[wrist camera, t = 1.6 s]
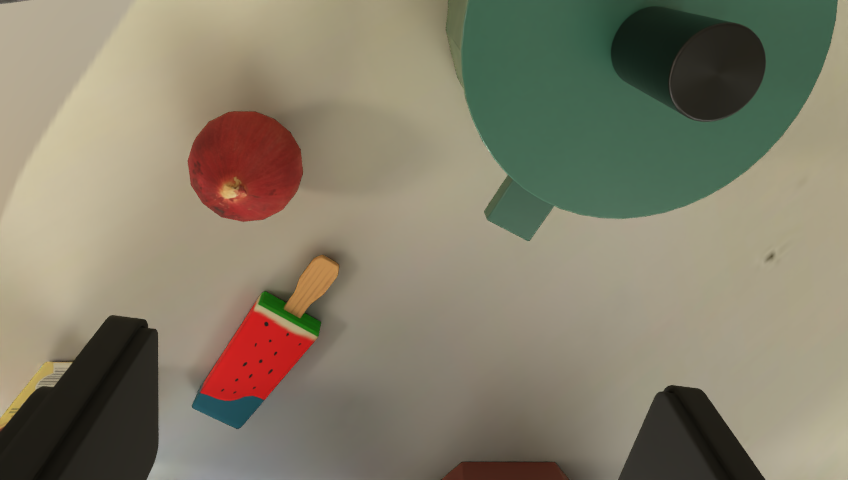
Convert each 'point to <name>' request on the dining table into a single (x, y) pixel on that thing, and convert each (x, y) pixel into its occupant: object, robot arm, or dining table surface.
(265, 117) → the onion
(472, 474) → the bucket
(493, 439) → the dining table surface
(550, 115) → the lid
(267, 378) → the popsicle
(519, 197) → the green cooking pot
